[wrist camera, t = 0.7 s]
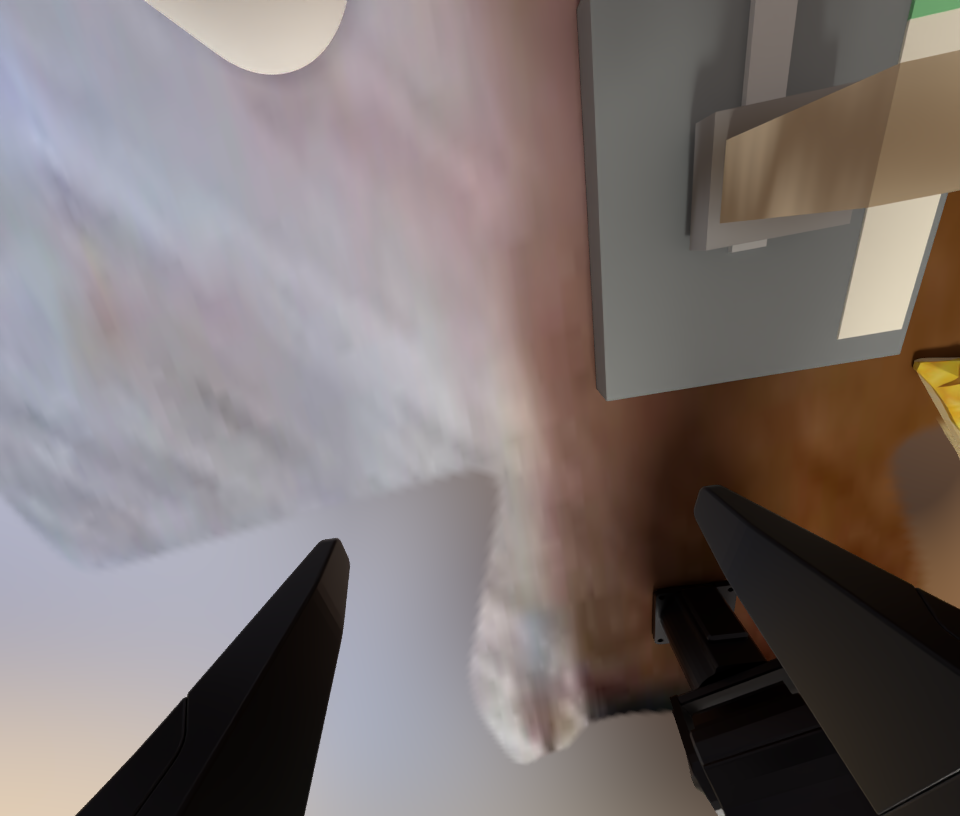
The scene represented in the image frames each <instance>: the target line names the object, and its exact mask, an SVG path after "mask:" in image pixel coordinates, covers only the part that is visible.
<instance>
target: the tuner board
mask: <svg viewBox="0 0 960 816" xmlns="http://www.w3.org/2000/svg"><path fill="white" fill-rule="evenodd" d="M577 24H578V43H579V62H580V81H581V100H582V119H583V138H584V157H585V176H586V195H587V214H588V233H589V252H590V271H591V290H592V309H593V328H594V347H595V366H596V385H597V390H598V391H599V392H600V394H601V395H602V396H603V397H604V399H605V400H606V401H612V400H618V399H624V398H630V397H637V396H643V395H649V394H655V393H661V392H668V391H674V390H680V389H686V388H692V387H699V386H705V385H711V384H717V383H723V382H730V381H736V380H742V379H748V378H754V377H761V376H767V375H773V374H779V373H785V372H792V371H798V370H804V369H810V368H817V367H823V366H829V365H835V364H841V363H848V362H854V361H860V360H866V359H872V358H879V357H885V356H891V355H897V354H900V351H901V348H902V345H903V341H904V338H905V335H906V331H907V328H908V325H909V321H910V318H911V314H912V311H913V308H914V304H915V301H916V298H917V294H918V291H919V288H920V284H921V281H922V278H923V274H924V271H925V268H926V264H927V261H928V258H929V254H930V251H931V248H932V244H933V241H934V238H935V234H936V231H937V228H938V224H939V221H940V218H941V214H942V211H943V208H944V204H945V201H946V198H947V194H948V193H943V194H937V195H932V196H927V197H922V198H916V199H911V200H906V201H901V202H896V203H890V204H885V205H880V206H875V207H869V208H861V209H853V211H852V215H851V220H850V224H845V225H839V226H834V227H829V228H823V229H818V230H813V231H807V232H802V233H797V234H791V235H786V236H781V237H776V238H770V239H765V240H760V241H754V242H749V243H744V244H738V245H733V246H728V247H722V248H717V249H712V250H707V251H696V250H689V247H690V227H691V208H692V188H693V168H694V148H695V128H696V123H697V122H699V121H701V120H703V119H704V118H706V117H708V116H709V115H711V114H713V113H715V112H718V111H722V110H727V109H732V108H736V107H741V106H746V105H750V104H755V103H759V102H764V101H769V100H773V99H778V98H783V97H787V96H792V95H796V94H801V93H806V92H810V91H815V90H820V89H824V88H829V87H833V86H838V85H843V84H847V83H852V82H857V81H861V80H863V79H865V78H868V77H870V76H872V75H874V74H877V73H879V72H881V71H883V70H886V69H888V68H890V67H892V66H895V65H897V64H899V63H902V62H907V61H911V60H916V59H921V58H925V57H930V56H934V55H939V54H944V53H948V52H953V51H957V50H960V0H580V3H579V5H578V8H577Z"/></svg>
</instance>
